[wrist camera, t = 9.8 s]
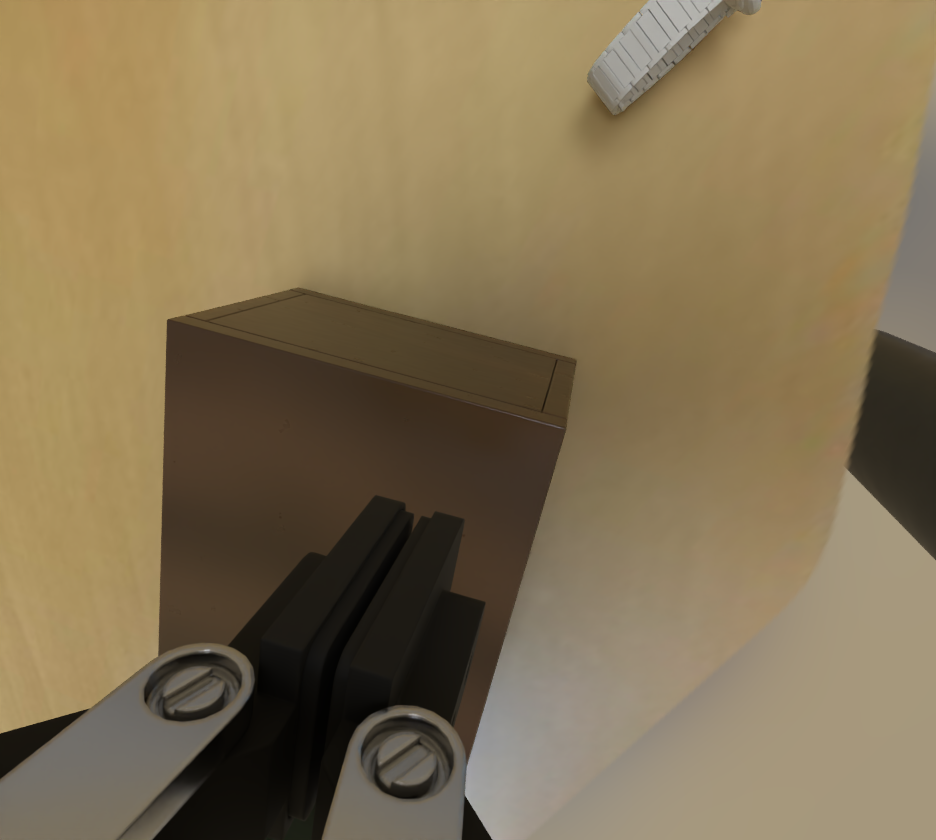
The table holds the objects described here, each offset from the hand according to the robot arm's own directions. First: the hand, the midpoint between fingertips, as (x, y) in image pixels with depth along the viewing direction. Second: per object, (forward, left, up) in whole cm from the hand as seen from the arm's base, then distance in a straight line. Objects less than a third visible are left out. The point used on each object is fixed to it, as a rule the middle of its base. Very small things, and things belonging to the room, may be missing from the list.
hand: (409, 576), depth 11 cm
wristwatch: (-2, -12, -16) cm, 20 cm away
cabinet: (+4, +7, -16) cm, 18 cm away
